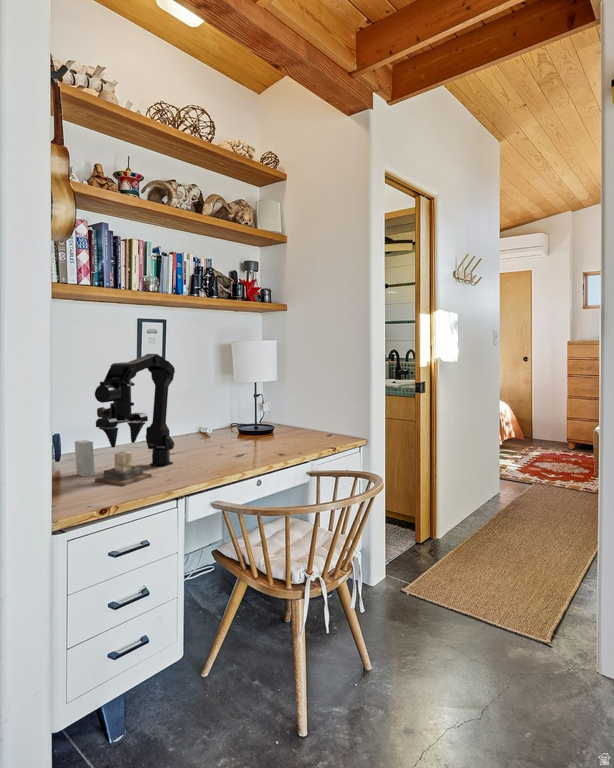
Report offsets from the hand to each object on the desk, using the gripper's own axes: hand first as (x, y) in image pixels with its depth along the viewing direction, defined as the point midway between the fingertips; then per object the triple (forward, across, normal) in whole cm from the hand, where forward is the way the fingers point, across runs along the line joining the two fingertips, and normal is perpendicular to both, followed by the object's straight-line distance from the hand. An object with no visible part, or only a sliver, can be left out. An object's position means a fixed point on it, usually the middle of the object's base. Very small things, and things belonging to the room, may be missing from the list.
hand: (123, 445), depth 170 cm
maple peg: (+11, 0, 0) cm, 11 cm away
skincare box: (+12, +1, -17) cm, 21 cm away
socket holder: (+12, 0, 0) cm, 12 cm away
